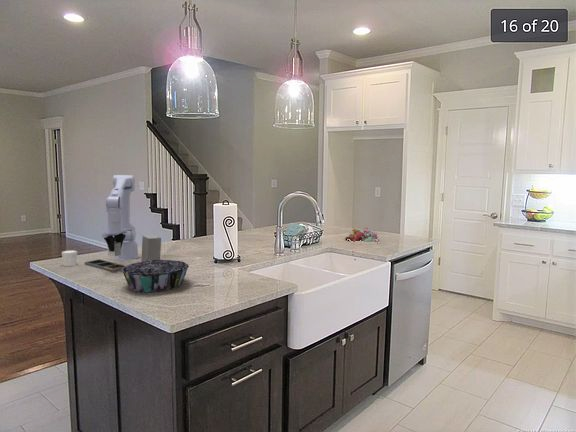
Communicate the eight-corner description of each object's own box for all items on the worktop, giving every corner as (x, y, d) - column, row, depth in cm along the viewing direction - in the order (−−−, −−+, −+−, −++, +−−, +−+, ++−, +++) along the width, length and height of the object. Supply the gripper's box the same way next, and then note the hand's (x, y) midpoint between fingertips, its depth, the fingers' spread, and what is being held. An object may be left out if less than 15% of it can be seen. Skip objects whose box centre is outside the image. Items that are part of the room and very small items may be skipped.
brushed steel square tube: (114, 253, 203) (113, 241, 202) (120, 254, 201) (120, 242, 200) (107, 255, 199) (107, 242, 198) (114, 256, 197) (114, 243, 197)
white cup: (60, 267, 202) (59, 253, 201) (63, 264, 209) (63, 250, 208) (76, 267, 204) (75, 252, 203) (79, 263, 210) (78, 249, 210)
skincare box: (140, 267, 207) (140, 235, 205) (154, 265, 212) (154, 234, 210) (147, 270, 201) (147, 237, 199) (161, 268, 205) (161, 236, 203)
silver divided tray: (99, 262, 215) (99, 259, 214) (128, 269, 202) (128, 266, 202) (84, 265, 208) (84, 261, 208) (113, 273, 195) (113, 269, 195)
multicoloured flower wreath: (339, 238, 303) (340, 226, 302) (369, 237, 311) (369, 225, 309) (355, 245, 280) (356, 231, 279) (386, 244, 287) (387, 231, 286)
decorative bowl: (200, 290, 180) (201, 267, 179) (140, 299, 159) (141, 273, 158) (166, 278, 197) (167, 256, 196) (108, 285, 176) (109, 261, 175)
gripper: (118, 219, 206) (119, 246, 208) (95, 223, 192) (96, 252, 194) (130, 220, 204) (131, 248, 205) (108, 224, 190) (109, 254, 192)
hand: (115, 250), depth 200 cm, fingers closed on brushed steel square tube, 4 cm apart
